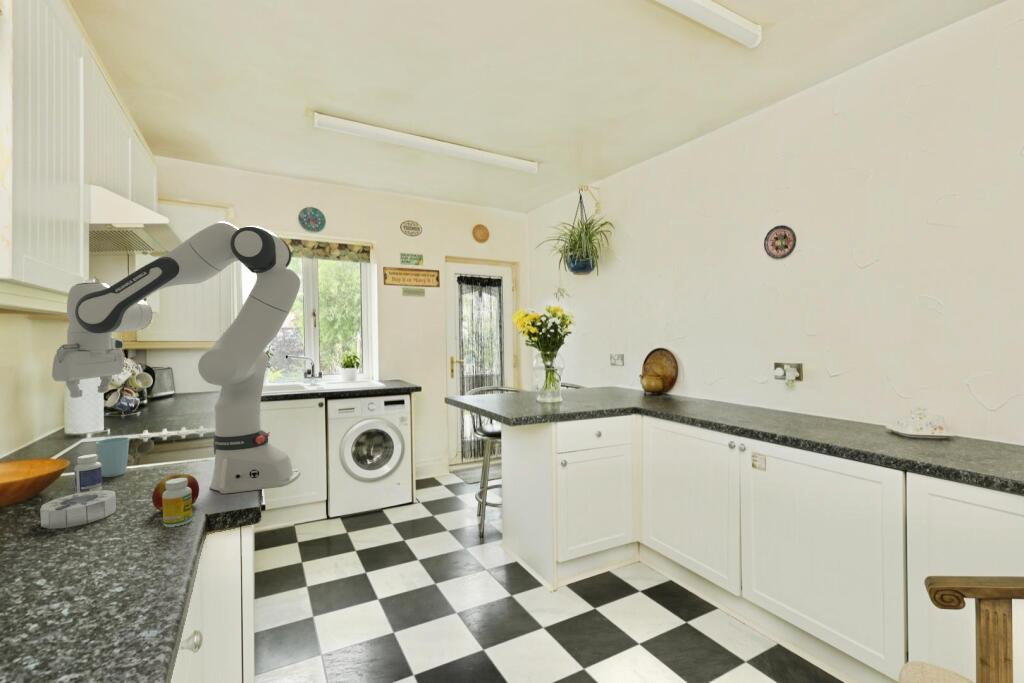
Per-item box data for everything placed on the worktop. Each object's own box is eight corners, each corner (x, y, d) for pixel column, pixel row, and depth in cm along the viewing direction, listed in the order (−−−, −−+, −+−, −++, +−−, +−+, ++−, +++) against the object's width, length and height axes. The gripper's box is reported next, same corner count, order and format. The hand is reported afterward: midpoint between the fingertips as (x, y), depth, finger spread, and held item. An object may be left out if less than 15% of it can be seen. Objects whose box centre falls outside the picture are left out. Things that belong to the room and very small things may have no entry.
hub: (128, 504, 115) (127, 487, 114) (90, 526, 102) (89, 506, 102) (71, 508, 113) (70, 491, 113) (25, 530, 100) (24, 511, 100)
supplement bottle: (169, 519, 105) (168, 477, 105) (196, 516, 107) (195, 475, 106) (158, 529, 100) (156, 485, 100) (187, 526, 101) (185, 482, 101)
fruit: (183, 516, 107) (181, 482, 107) (142, 518, 106) (140, 483, 106) (208, 500, 116) (206, 469, 116) (170, 502, 116) (169, 470, 116)
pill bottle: (107, 488, 127) (106, 453, 127) (88, 495, 122) (86, 459, 121) (90, 488, 128) (88, 453, 127) (69, 495, 122) (68, 458, 122)
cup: (124, 476, 138) (122, 441, 137) (92, 479, 135) (90, 444, 135) (135, 469, 145) (133, 436, 144) (105, 472, 142) (103, 438, 142)
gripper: (72, 344, 114) (72, 400, 114) (128, 342, 134) (128, 389, 135) (43, 344, 113) (43, 400, 113) (104, 342, 133) (104, 389, 134)
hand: (90, 394), depth 124 cm, fingers open, 8 cm apart
